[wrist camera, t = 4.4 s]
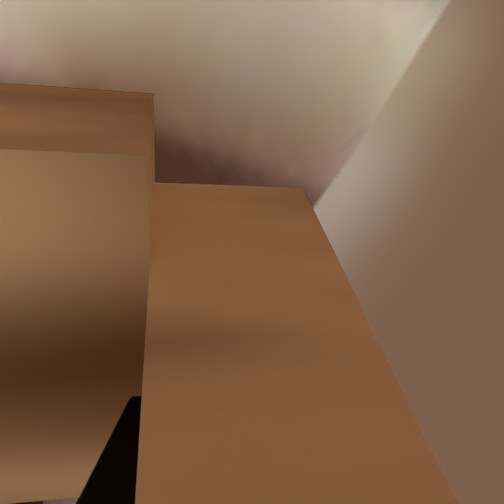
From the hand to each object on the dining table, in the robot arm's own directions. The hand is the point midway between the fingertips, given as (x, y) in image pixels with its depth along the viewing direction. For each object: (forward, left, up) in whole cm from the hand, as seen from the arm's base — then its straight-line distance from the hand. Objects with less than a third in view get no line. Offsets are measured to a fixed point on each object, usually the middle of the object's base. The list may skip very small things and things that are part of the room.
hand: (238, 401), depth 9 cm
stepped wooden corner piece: (0, +2, -4) cm, 5 cm away
